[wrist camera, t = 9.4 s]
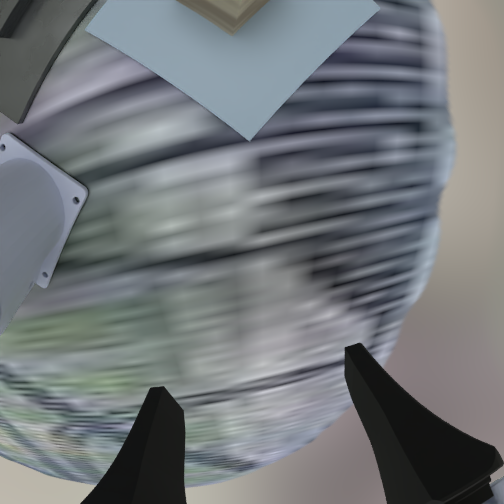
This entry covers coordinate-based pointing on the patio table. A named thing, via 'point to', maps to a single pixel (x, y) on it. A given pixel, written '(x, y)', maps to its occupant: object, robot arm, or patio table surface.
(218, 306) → the patio table surface
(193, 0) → the peg
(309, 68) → the board
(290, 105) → the patio table surface
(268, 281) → the patio table surface
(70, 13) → the socket base
